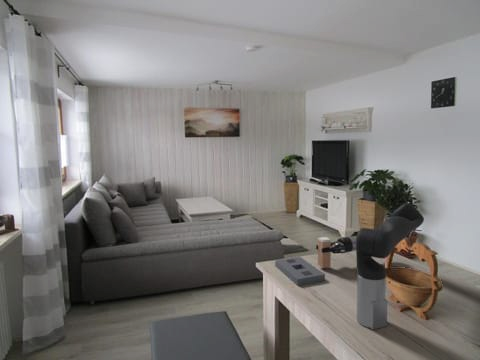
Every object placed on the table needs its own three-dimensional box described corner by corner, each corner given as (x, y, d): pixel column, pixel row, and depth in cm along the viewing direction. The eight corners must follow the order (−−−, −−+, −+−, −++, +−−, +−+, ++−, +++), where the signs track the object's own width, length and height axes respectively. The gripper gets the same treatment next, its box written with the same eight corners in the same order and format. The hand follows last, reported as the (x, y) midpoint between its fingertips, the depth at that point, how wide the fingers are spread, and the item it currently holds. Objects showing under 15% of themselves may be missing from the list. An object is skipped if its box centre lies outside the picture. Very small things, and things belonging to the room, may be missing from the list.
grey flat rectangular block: (324, 280, 147) (324, 274, 146) (297, 285, 143) (297, 278, 142) (299, 261, 169) (299, 256, 169) (275, 265, 165) (275, 260, 165)
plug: (330, 266, 159) (330, 239, 157) (322, 268, 157) (322, 240, 155) (325, 263, 163) (325, 236, 161) (317, 264, 161) (317, 237, 160)
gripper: (357, 256, 157) (327, 261, 152) (340, 247, 170) (311, 251, 165) (358, 241, 156) (327, 246, 151) (340, 233, 169) (311, 237, 164)
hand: (319, 249), depth 158 cm, fingers closed on plug, 4 cm apart
